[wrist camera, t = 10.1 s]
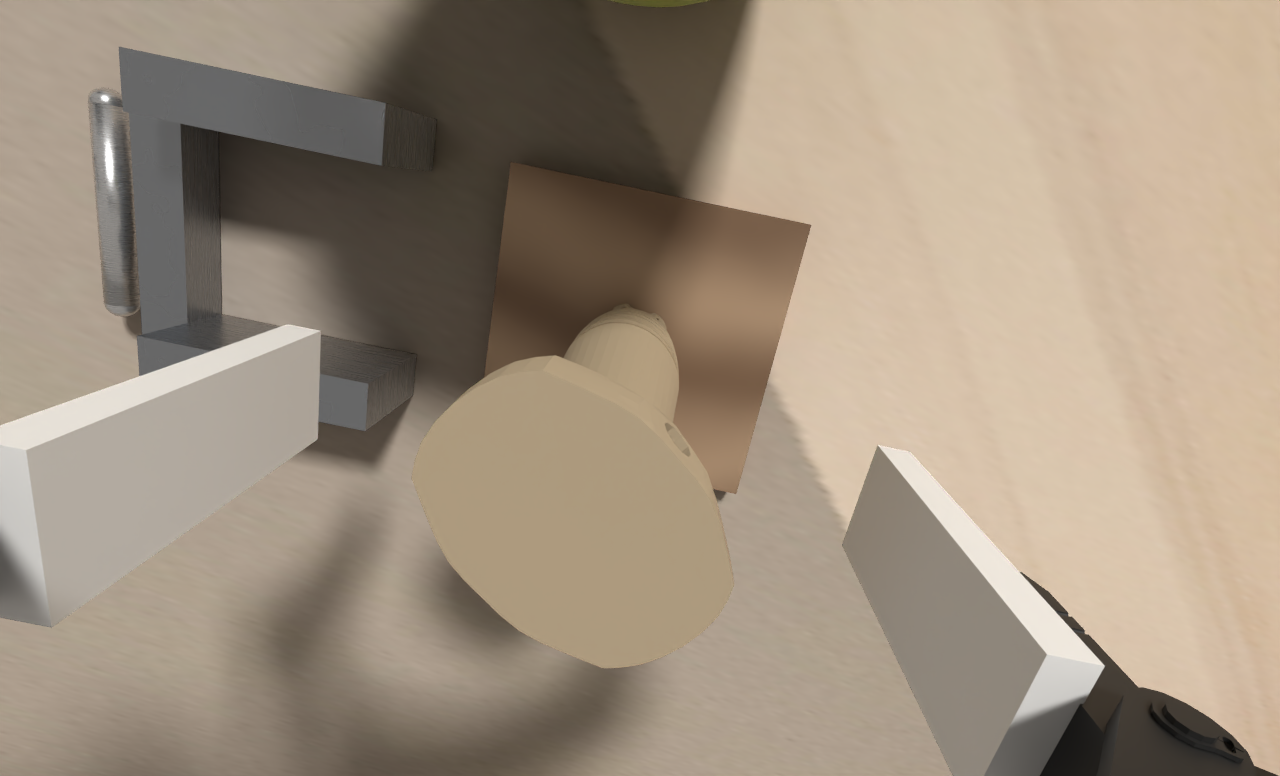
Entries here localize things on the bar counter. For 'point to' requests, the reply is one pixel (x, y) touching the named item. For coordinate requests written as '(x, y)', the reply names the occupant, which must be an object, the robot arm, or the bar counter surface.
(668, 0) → the flower pot
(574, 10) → the bar counter surface
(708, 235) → the walnut board
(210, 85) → the vise
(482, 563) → the handle
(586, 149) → the bar counter surface
